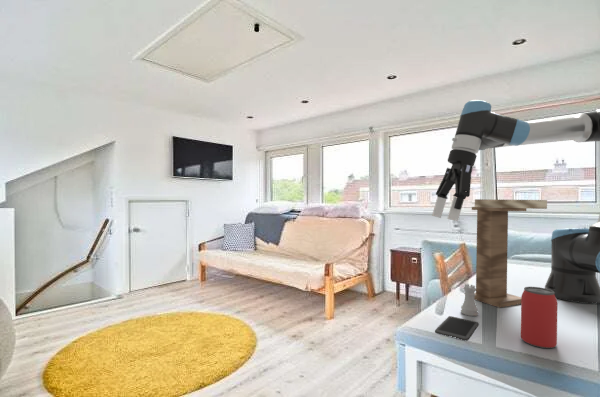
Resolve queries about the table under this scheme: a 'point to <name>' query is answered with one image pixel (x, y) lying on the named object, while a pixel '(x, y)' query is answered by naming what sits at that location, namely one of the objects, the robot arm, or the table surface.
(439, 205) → the robot arm
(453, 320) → the cell phone
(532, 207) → the ash bar
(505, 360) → the table surface
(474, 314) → the rook chess piece
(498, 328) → the table surface
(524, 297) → the beer can
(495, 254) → the shelf stand
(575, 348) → the table surface
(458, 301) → the table surface
